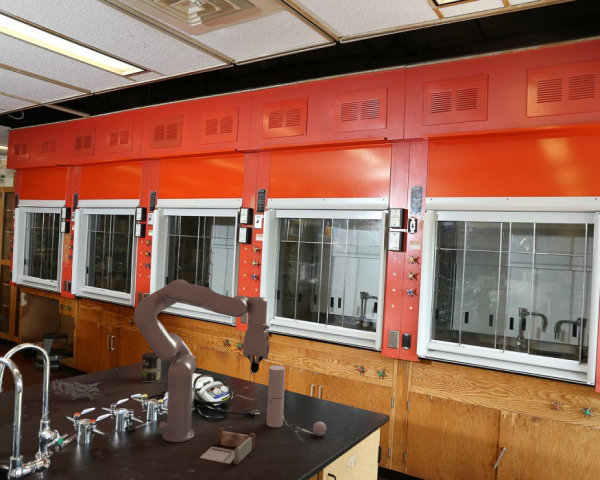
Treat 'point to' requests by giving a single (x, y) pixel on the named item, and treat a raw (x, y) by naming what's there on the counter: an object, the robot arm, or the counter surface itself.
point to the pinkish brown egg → (319, 428)
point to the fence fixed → (233, 438)
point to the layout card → (219, 455)
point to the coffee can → (150, 367)
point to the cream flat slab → (242, 450)
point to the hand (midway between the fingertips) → (254, 372)
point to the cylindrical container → (275, 396)
